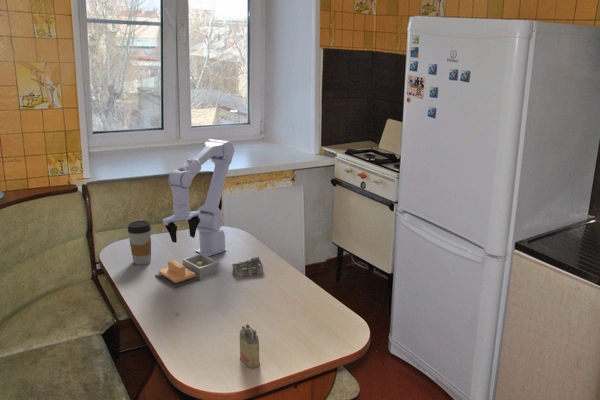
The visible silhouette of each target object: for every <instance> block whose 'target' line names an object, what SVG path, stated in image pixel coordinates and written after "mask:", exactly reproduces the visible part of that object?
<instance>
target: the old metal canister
mask: <svg viewBox="0 0 600 400" xmlns="http://www.w3.org/2000/svg"><path fill="white" fill-rule="evenodd" d="M239 354H240V355H239V360H241V361H242V362H243V363H244V364H245V365H246V366H247V368H251V369H252V368H253V369H254V368H258V367H259V366H260V365H261V364H260V341H259V336H258V335H257V330H255V329H253V328H251V327H250V325H249V324H248V323H247V324H245V326H244V325H242V326H241V329H240V331H239Z"/></svg>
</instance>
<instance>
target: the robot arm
mask: <svg viewBox="0 0 600 400" xmlns="http://www.w3.org/2000/svg"><path fill="white" fill-rule="evenodd" d="M234 153H235V149H234V144H233V142H232V141H231V140H221V139H212V138H209V139H207V140H206V141H205V142H204V144H203V148H202V149H201V150H200V152H199V153H198V154H197V155H196V156H195V157H194V158H193V157H191V158H188V159H187V160H186V161H185V163H183V164H182V165H181V166H180V167H178V169H174V170H172V171H171V172H169V174H168V179H167V183H168V185H169V186H170V191H172V206H173V207H172V208H173V210H172V211H173V214H172V215H170V216H168V217H165V218H163V219H162V224H163V225H164V226H165V228H166V230H167V232H168V234H169V236H170V239H171V242H173V243H177V241H178V240H177V239H178V238H177V237H178V236H177V233H178V232H177V231H178V225H176V223H178V222H182V221H187V224H188V229H189V230H188V231H189V237H191V238H193V239H194V238H195V236H196V232H197V231H198V236H199V248H198V249H197V248H196V249H195V252H196V253H198V254H203V255H205V256H207V257H210V256H212V255H216V254H219V253H222V252H223V253H224V252H225V251H227V248H226V235H225V231H224V229H223V228H222V225H223V215H224V213H223V212H222V210H221V209H220V208H219V205H220V202H221V198H222V194H223V191H224V187H225V182H226V179H227V175H228V172H229V168H230V165H231V164H232V160H233V156H234ZM209 160H211V161H210V162H212V163H213V164H214V167H213V168H214V169H213V173H212V176H211V180H210V184H209V187H208V191H207V195H206V198H205V201H204V202H205V203H204V204H203V205H201V206H200V207H198V208H197V210H193V211H191V208H190V206H191V205H190V189H189V187H190V186H191V185H192V181H193V180H194V178H195V177H196V175H197V174H198V173H199V172H201V170H202V165H203V164H205V163H207V162H208V161H209Z"/></svg>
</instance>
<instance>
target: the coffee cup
mask: <svg viewBox="0 0 600 400" xmlns="http://www.w3.org/2000/svg"><path fill="white" fill-rule="evenodd" d="M151 231H152V228H151V224H150V222H149V221H148V220H147V221H146V220H135V221H131V222H130V223H129V224H128V227H127V232H128V237H129V244H130V245H129V246H130V251H131V256H132V262H133V263H134V264H135V265H137V266H143V265H148V264H149V263H150V262H151V260H152V236H151V235H152V233H151Z"/></svg>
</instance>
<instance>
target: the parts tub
mask: <svg viewBox="0 0 600 400" xmlns="http://www.w3.org/2000/svg"><path fill="white" fill-rule="evenodd" d="M182 265H183V266H185V268H187V269H188V270H190V271H192V272H194V273H195V275H196V276H197V277H198V278H200V279H201V278H203V277H206V276H209V275H212V274H215V273H218V272H219V271H220V270H219V269H220V268H219V266H220V265H219V262H218V261H217V260H215V259H213V258H211V257H210V256H208V257H207V256H205V255H203V254H200V253H198V254H195V255H191V256H189V257H185V258H183V259H182Z"/></svg>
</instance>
